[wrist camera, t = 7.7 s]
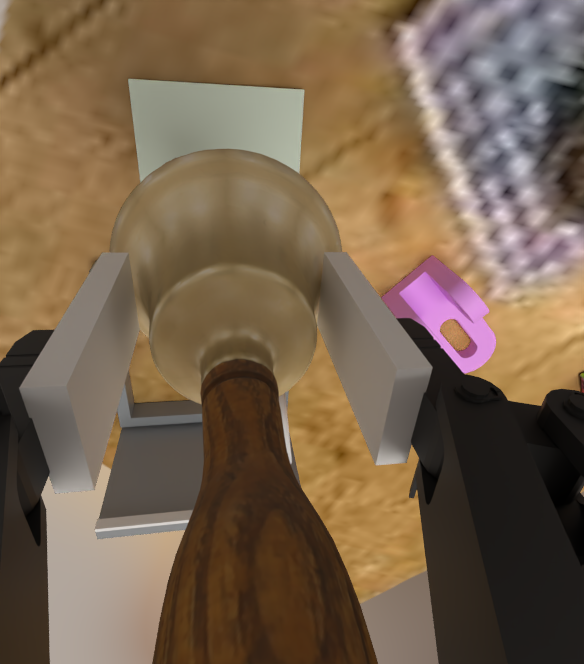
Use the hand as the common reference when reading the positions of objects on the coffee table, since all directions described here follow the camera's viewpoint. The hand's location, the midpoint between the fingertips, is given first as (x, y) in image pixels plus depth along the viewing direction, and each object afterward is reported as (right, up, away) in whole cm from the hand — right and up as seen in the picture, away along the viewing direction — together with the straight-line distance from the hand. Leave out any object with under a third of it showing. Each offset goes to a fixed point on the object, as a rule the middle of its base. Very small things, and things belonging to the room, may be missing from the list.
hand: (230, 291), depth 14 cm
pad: (-3, +10, +16) cm, 19 cm away
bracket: (+16, 0, +26) cm, 31 cm away
